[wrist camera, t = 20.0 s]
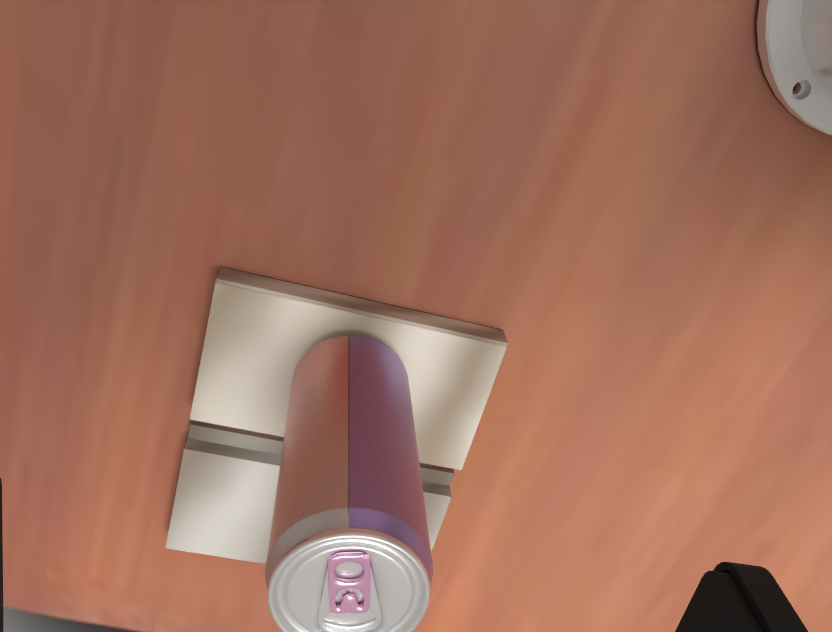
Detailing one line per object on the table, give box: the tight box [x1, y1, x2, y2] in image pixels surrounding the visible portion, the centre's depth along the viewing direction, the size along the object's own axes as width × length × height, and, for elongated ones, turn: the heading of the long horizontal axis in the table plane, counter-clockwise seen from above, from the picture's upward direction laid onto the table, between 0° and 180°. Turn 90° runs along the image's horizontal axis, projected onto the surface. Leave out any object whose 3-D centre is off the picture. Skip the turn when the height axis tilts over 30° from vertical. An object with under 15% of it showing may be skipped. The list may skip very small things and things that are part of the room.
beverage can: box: [265, 335, 433, 632], centre depth 33 cm, size 6×6×15 cm
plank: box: [190, 267, 508, 470], centre depth 41 cm, size 15×8×2 cm, turn 75°
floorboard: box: [166, 420, 454, 564], centre depth 44 cm, size 15×8×2 cm, turn 75°
